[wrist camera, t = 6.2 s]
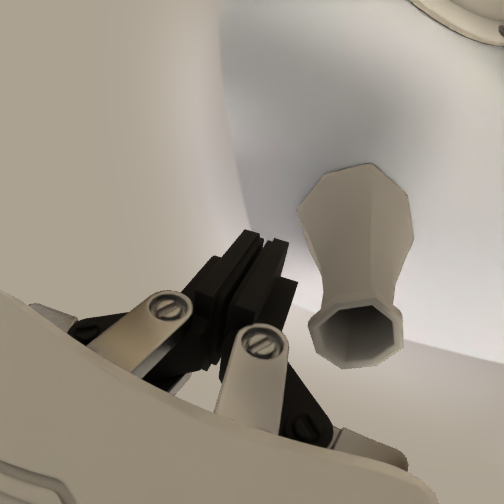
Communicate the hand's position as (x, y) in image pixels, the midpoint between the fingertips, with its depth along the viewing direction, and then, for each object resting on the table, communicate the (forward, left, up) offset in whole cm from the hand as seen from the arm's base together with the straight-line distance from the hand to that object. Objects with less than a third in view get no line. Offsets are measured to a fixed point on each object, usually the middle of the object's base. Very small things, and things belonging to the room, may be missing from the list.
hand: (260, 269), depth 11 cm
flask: (+4, 0, -8) cm, 9 cm away
